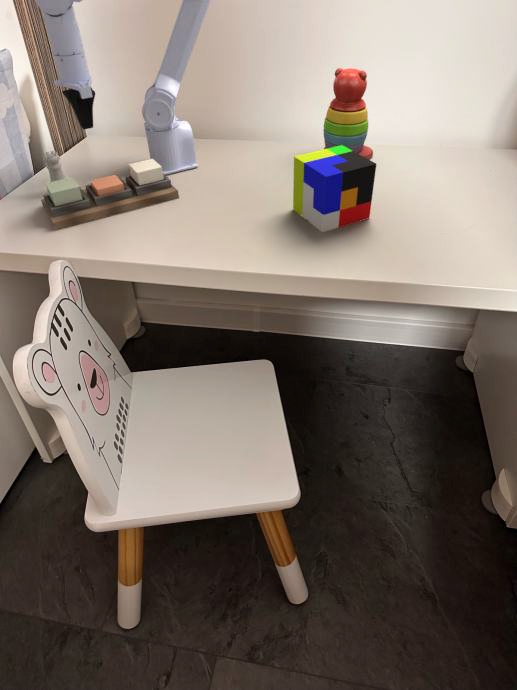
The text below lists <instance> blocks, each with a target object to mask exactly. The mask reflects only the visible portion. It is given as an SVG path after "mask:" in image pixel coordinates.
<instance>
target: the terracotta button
mask: <svg viewBox="0 0 517 690" xmlns="http://www.w3.org/2000/svg"><path fill="white" fill-rule="evenodd" d="M89 181H90V184H91V186H92V190H93V192H94V193H95V195H96V196H97V197H99V196H103V195H107V194H111V193H115V192H119V191H124V190H125V189H124V185H123V183H122V182H121V180H120V179H119V177H118V176H117V175H116V174H112V175H108V176H104V177H100V178H95V179H91V180H89Z"/></svg>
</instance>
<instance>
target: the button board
mask: <svg viewBox="0 0 517 690" xmlns="http://www.w3.org/2000/svg"><path fill="white" fill-rule="evenodd" d="M163 177H164V180H160V181H156V182H152V183H148V184H144V185H139V184H138V183H137V182H136V181H135V180H134V179H133V178H132V177H131V174H127V175H124V179H122V178H121V176H120V177H118V178H119V179H120V180H121V182H122V183H123V185H124V189H125V190H124V191H119V192H115V193H111V194H107V195H103V196H99V197H97V196H96V195H95V193H94V192H93V190H92V186H91V183H90V184H86V185H84V187H85V188H83V189H82V188H81V186H79V188H80V192H81V195H82V199H83V200H79V201H75V202H71V203H67V204H63V205H59V206H55V205H54V203H53V201H52V200H51V198H50V196H49V193H46V194H44V195H42V197H43V198H42V199H40V201H41V205H42V208H43V210H44V211H45V213H46V215H47V217H48V219H49V220H50V222H51V224H52V226H53V228H54V229H55V231H59V230H62V229H66V228H69V227H74V226H76V225H81V224H84V223H88V222H92V221H96V220H102V219H104V218H108V217H111V216H115V215H119V214H123V213H127V212H131V211H134V210H138V209H142V208H145V207H149V206H153V205H157V204H161V203H164V202H168V201H172V200H175V199H179V198H180V194H179V190H178V189H177V188H176V187H175V186H174V185H173V184H172V182H171V179H170V178H169V177H168V175H165V174H163Z"/></svg>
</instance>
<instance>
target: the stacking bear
mask: <svg viewBox="0 0 517 690" xmlns="http://www.w3.org/2000/svg"><path fill="white" fill-rule="evenodd" d="M334 76H335V78H334V80H333V85H332V86H333V87H332V88H333V90H332V91H333V94H334V96H335V97H334V98H333V99H332V100H331V101H330V103H329V106H328V108H327V111H326V115H325V119H324V123H323V137H324V138H323V140H324V147H323V149H328V148H332V147H336V146H340V145H343V146H345V147H346V148H348V149H350V150H352V151H354V152H356V153H357V154H359V155H361V156H363V157H365V158H367V159H369V160H370V159H371V158H372V157H373V156H374V151H373V149H372V147H370V146H367V145H364V144H365V141H366V139H367V135H368V131H369V119H368V115H369V114H368V108H367V104H366V102H365V100H364V99H363V96H364V95H365V93H366V90H367V85H368V81H367V77H368V74H367V73H366V71H365V70H363V69H361V70H360V69H357V68H345V69H343V68H342V67H338V68H337V69H335V71H334Z"/></svg>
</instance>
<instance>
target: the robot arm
mask: <svg viewBox="0 0 517 690" xmlns="http://www.w3.org/2000/svg"><path fill="white" fill-rule="evenodd" d="M34 1H35V4H36V5H37V6H38V7H39V9H41V13H42V17H43V21H44V24H45V30H46V33H47V38H48V41H49V46H50V48H51V53H52V56H53V60H54V62H55V63H54V64H55V67H56V71H57V74H58V78H59V79H55V80H53V85H54V87H63V88H67V89H64V90H63V91H61V93H62V94H63V96H64V97H65V99H66V100H67V101H68V103H69V105H70V107H71V109H72V110H73V112H74V114H75V117H76V120H77V122H78V124H79V125H80V127H81V129H82V130H87V129H93V128H94V114H93V113H94V112H93V111H94V101H95V98H96V91H95V90H94V89H93V87H92V83H93V78H92V76H91V74H90V71H89V66H88V63H87V58H86V57H87V56H86V54H85V50H84V45H83V44H84V43H83V40H82V36H81V33H80V28H79V23H78V21H77V19H76V14H75V10H74V9H75V8H74V6H73V4H74V3H80V2H82V1H83V0H34ZM211 1H212V0H182V1H181V5H180V8H179V10H178V13H177V16H176V19H175V22H174V25H173V28H172V31H171V34H170V37H169V40H168V42H167V46H166V49H165V52H164V55H163V57H162V61H161V64H160V67H159V70H158V72H157V75H156V78H155V80H154V82H153V84H152V85H150V87H149V88H148V89H147V90H146V92H145V94H144V103H143V105H142V110H141V113H142V114H141V115H142V118H143V120H144V124H143V125H144V130H145V135H146V136H145V137H146V141H147V145H148V146H147V147H148V152H149V153H148V154H149V159H154V160H155V161H156V162H157V163H158V164H159V165H160V166H161V167H162V171H163V174H165V175H166V176H168V175H169V174H170V175H171V174H175V173H178V172H182V171H186V170H190V169H195V168H198V167H199V164H198V163H197V156H196V155H197V154H196V147H195V139H194V134H193V129H192V127H191V125H190V123H189V122H188V121H187V120H179V118H177V116H176V115H175V106H176V100H177V97H178V93H179V90H180V85H181V82H182V80H183V78H184V75H185V72H186V69H187V67H188V64H189V61H190V58H191V55H192V54H193V51H194V47H195V44H196V42H197V40H198V36H199V35H200V34H199V33H200V31H201V28H202V27H203V23H204V20H205V17H206V14H207V12H208V9H209V6H210V4H211Z"/></svg>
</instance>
